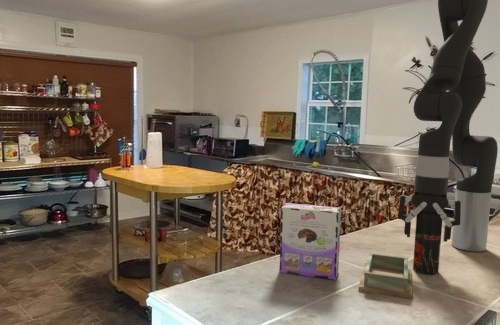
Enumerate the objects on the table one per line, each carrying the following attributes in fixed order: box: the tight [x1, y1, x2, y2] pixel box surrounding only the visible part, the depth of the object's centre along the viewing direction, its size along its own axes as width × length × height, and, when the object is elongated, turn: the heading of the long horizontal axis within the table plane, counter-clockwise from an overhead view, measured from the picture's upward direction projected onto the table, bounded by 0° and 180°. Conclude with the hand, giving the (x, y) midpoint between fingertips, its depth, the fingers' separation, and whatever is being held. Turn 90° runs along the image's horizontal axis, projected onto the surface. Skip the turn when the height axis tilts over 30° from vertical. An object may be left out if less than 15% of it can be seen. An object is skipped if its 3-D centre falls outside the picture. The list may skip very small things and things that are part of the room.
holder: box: [358, 252, 413, 300], centre depth 100 cm, size 16×11×4 cm
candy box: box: [278, 202, 342, 280], centre depth 104 cm, size 14×6×16 cm, turn 71°
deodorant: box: [412, 212, 443, 276], centre depth 107 cm, size 6×6×15 cm
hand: (426, 238), depth 107 cm, fingers open, 8 cm apart
